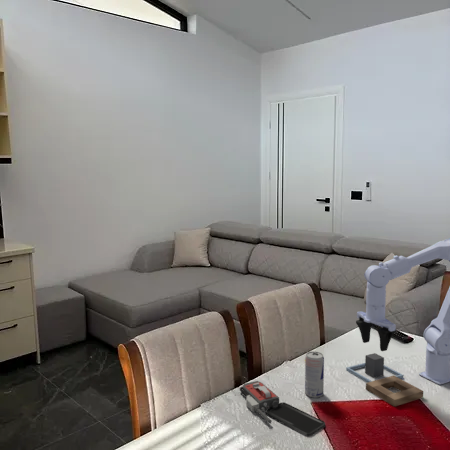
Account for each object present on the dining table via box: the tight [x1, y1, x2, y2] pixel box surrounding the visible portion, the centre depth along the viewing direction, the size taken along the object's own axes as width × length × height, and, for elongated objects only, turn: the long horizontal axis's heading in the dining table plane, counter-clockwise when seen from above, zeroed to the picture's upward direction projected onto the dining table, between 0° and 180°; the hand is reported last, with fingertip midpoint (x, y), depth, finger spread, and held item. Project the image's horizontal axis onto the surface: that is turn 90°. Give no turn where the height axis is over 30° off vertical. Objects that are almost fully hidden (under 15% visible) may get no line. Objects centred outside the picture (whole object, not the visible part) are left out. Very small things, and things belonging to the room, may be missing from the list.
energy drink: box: [304, 351, 325, 399], centre depth 133 cm, size 5×5×12 cm
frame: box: [345, 362, 404, 383], centre depth 146 cm, size 12×12×1 cm
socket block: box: [365, 374, 424, 407], centre depth 133 cm, size 11×11×2 cm
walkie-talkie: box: [239, 380, 280, 424], centre depth 127 cm, size 9×4×20 cm
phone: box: [265, 402, 326, 437], centre depth 120 cm, size 8×1×15 cm
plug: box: [364, 352, 385, 379], centre depth 145 cm, size 4×4×6 cm
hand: (374, 346), depth 142 cm, fingers open, 7 cm apart
